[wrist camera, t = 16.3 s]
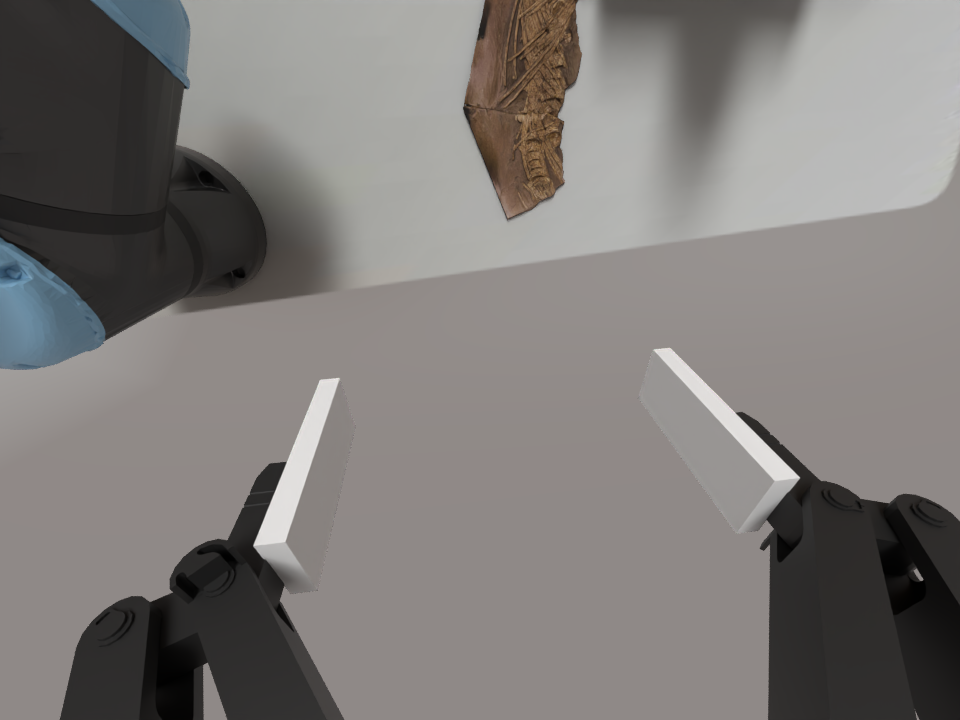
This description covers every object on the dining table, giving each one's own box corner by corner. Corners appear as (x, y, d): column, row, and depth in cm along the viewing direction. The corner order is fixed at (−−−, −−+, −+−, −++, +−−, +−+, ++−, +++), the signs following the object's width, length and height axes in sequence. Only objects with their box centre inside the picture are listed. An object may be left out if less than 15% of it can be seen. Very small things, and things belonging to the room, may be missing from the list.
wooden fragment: (558, 219, 41) (560, 221, 40) (463, 217, 41) (463, 219, 40) (602, -127, 28) (607, -136, 27) (463, -137, 28) (463, -146, 27)
